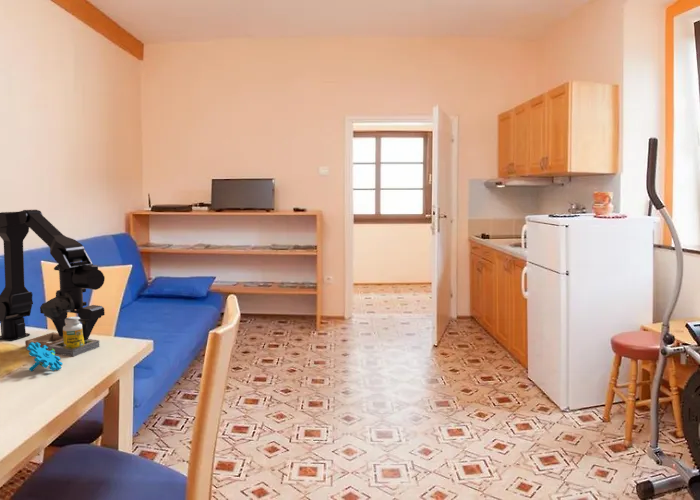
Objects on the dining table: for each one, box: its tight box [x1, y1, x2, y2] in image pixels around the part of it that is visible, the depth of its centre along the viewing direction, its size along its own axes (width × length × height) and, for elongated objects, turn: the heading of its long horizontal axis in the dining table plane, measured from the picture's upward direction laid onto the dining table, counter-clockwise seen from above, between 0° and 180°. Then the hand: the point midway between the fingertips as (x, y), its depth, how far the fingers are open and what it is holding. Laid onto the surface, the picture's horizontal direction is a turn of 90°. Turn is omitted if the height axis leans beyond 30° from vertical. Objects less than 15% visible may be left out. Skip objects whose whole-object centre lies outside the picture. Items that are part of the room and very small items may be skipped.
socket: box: [48, 338, 100, 358], centre depth 146 cm, size 9×9×2 cm
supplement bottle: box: [63, 316, 84, 348], centre depth 146 cm, size 5×5×10 cm
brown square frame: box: [24, 331, 63, 350], centre depth 150 cm, size 9×9×2 cm
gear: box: [26, 342, 63, 372], centre depth 130 cm, size 11×6×10 cm
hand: (73, 338), depth 146 cm, fingers open, 9 cm apart
